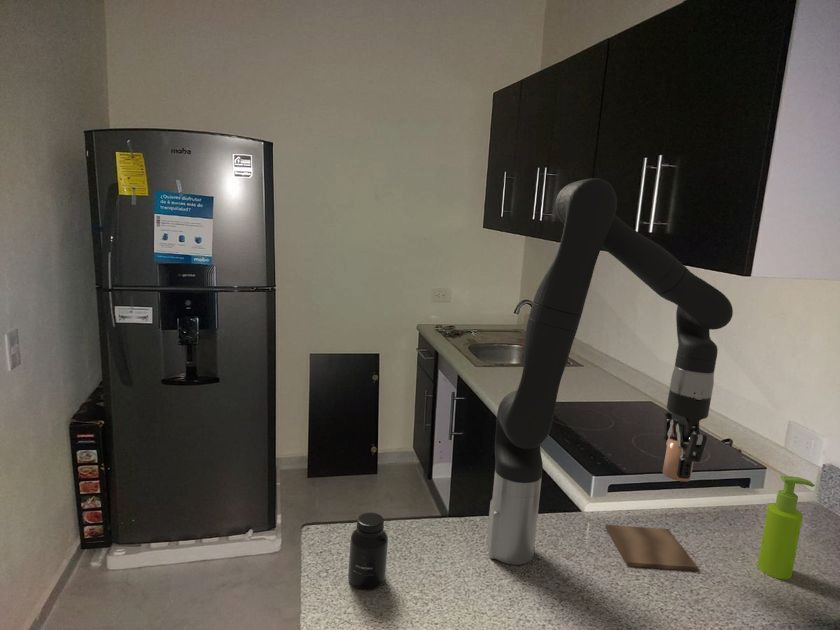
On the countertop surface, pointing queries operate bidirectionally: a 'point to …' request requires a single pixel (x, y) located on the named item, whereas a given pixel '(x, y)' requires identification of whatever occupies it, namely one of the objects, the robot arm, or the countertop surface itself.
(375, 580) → the supplement bottle
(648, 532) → the mat
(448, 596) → the countertop surface
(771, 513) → the soap dispenser
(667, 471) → the spice jar
